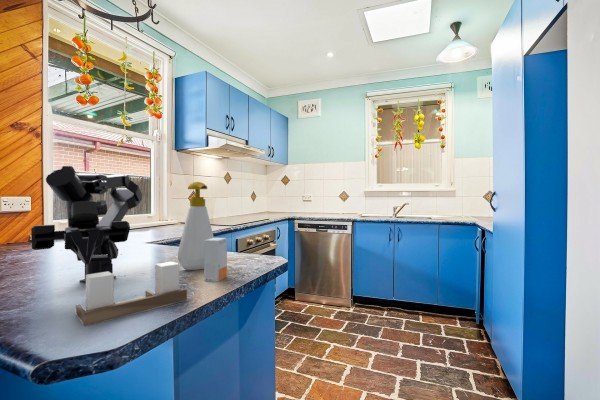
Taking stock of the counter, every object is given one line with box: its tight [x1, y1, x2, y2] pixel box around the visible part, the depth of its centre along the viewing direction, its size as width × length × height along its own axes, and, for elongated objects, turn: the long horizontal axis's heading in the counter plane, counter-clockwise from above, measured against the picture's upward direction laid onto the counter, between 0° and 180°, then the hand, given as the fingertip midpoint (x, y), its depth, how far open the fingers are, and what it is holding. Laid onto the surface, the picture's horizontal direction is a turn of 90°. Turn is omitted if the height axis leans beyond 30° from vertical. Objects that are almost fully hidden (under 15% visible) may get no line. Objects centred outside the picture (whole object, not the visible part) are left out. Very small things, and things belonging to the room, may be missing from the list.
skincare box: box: [203, 237, 228, 283], centre depth 85 cm, size 6×4×12 cm
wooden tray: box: [74, 288, 188, 327], centre depth 64 cm, size 10×19×3 cm, turn 136°
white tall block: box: [85, 271, 115, 311], centre depth 58 cm, size 4×4×8 cm
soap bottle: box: [177, 181, 215, 271], centre depth 97 cm, size 13×10×29 cm
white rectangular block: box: [154, 261, 180, 295], centre depth 67 cm, size 4×4×8 cm
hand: (87, 263), depth 67 cm, fingers closed
